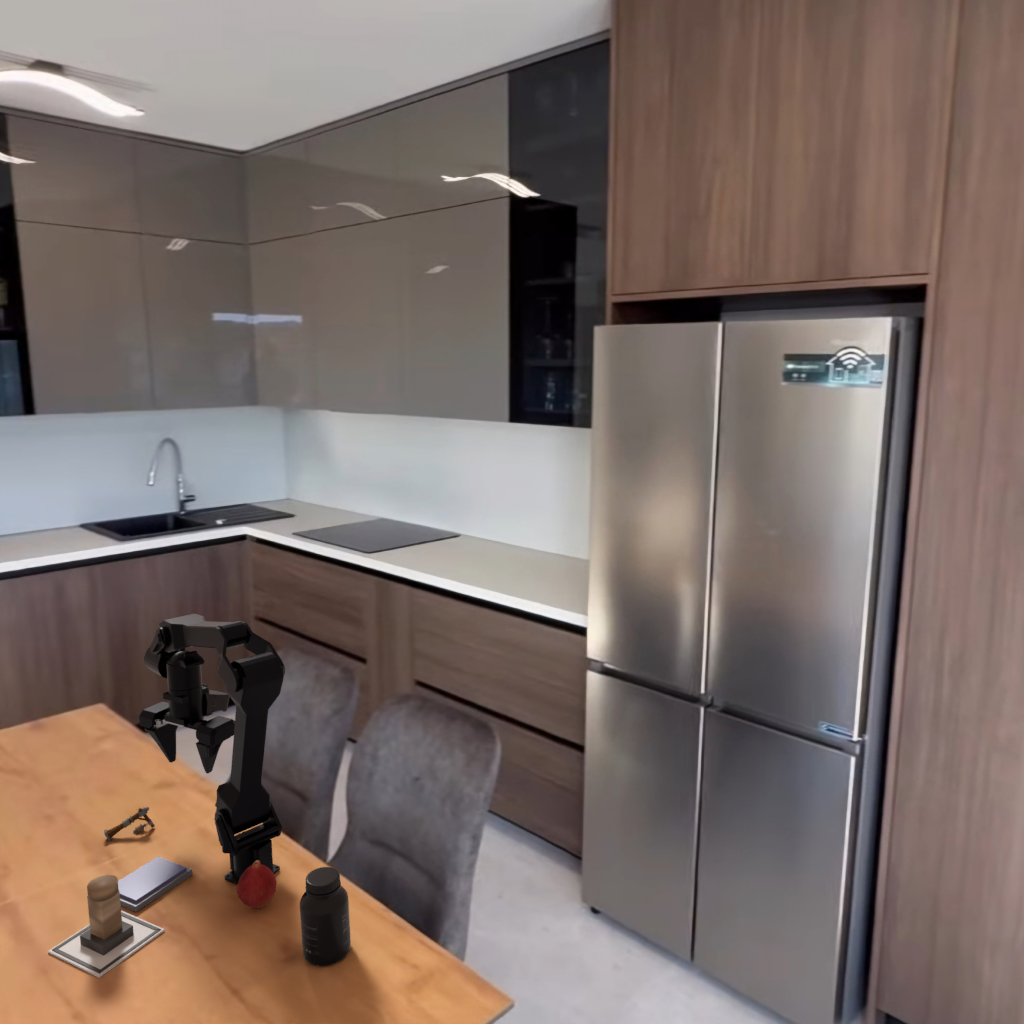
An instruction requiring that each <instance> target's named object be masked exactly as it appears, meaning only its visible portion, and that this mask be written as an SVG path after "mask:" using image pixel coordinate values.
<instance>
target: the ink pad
mask: <svg viewBox="0 0 1024 1024" xmlns="http://www.w3.org/2000/svg"><path fill="white" fill-rule="evenodd" d="M191 876H193V869H192V868H190V867H187V866H185V865H182V864H180V863H176V862H174V861H172V860H169V859H165V858H163V857H161V856H156V857H155V858H153V859H152V860H150V861H148V862H147V863H144V865H141V866H140V867H139V868H137V869H135V870H134V871H132V872H131V873H129V874H127V875H125V876H123V877H122V878H121V879H118V889H119V892H120V904H121V907H122V906H123V908H125V909H127V908H128V909H127V910H129V909H130V910H129V911H132V912H134V911H135V913H137V912H139V911H140V910H142V909H143V908H145V907H147V906H148V905H150V904H151V903H152V902H154V901H156V900H157V899H159V898H160V897H161V896H163V895H165V894H166V893H167V892H169V891H170V890H172V889H174V888H175V887H176V886H178V885H179V884H181V883H183V882H184V881H185V880H187V879H188V878H190V877H191ZM159 896H160V897H159ZM153 900H154V901H153ZM150 902H151V903H150ZM147 904H148V905H147ZM144 906H145V907H144ZM141 908H142V909H141Z"/></svg>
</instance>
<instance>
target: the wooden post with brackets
mask: <svg viewBox="0 0 1024 1024" xmlns="http://www.w3.org/2000/svg"><path fill="white" fill-rule="evenodd" d="M149 810H150V807H149V806H146V807H145V806H143V807H140V808H138V809H137V812H136V813H135V814H133V815H130V816H129V817H127V818H125V820H122V821H121V823H119V824H118V825H116V826H114V827H112V828H110V829H107V828H105V829H103V832H104V833H103V834H104V836H105V837H106V838H107V840H108V841H109V842H111V841H112V840H111V839H113V837H114V836H115V835H116V834H118V833H119V832H120V831H121V830H123V829H127V827H129V826H131V825H132V824H134V823H135V821H137V820H140V821H145V822H146V823H143V824H141V823H139V825H138V826H136V827H134V829H133V834H138V832H139V833H140V832H142V831H145V828H147V826H148V825H149V826H150V827H151V829H153V828H155V824H154V822H153V820H152V819H151V818H150V817H149V816H148V815H147V814H148V811H149ZM136 832H137V833H136Z"/></svg>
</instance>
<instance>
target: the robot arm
mask: <svg viewBox="0 0 1024 1024" xmlns="http://www.w3.org/2000/svg"><path fill="white" fill-rule="evenodd" d="M241 646H243V647H244V649H246V650H247V651H249V652H251V653H252V654H254V655H251V656H248V657H245V658H240V659H235V660H233V661H232V662H230V660H229V659H228V656H227V650H230V649H235V648H238V647H241ZM193 647H195V648H196V647H197V648H209V649H216V651H217V653H218V661H217V673H218V675H219V676H220V678H221V680H222V681H223V683H224V684H225V687H226V692H223V691H220V690H219V691H218V690H214V689H213V690H212V689H209V685H208V684H205V683H203V677H202V676H203V674H202V666H203V665H204V664H205V663H206V661H205V659H204V657H203V656H202V655H200V654H199V653H198V651H197V650H186V649H189V648H193ZM143 662H144V665H145V667H146V668H147V669H148V670H150V671H151V672H153V673H155V674H156V675H158V676H160V677H162V678H164V679H167V680H166V681H167V691H166V692H163V693H162V699H163V700H167V701H168V702H165V701H160V702H158V703H156V704H153V705H151V706H148V707H146V708H144V709H142V711H141V712H140V714H139V716H138V717H139V718H138V719H139V726H140V727H142V728H143V727H144V731H145V732H146V733H148V735H150V736H151V738H152V739H153V741H154V742H155V743H156V745H157V746H158V747H159V749H160V750H161V751H162V753H163V755H164V756H165V758H166V759H167V761H168V762H169V763H174V762H175V761H176V760H177V730H178V727H180V728H181V727H182V728H187V729H191V730H195V737H196V739H197V741H198V742H196V743H195V746H196V748H197V752H198V755H199V757H200V758H199V759H200V760H201V764H202V767H203V769H204V772H205V773H206V774H210V773H211V772H212V771H213V769H214V766H215V763H216V760H217V756H218V753H219V750H220V748H221V746H222V744H223V743H224V742H225V741H227V740H228V739H230V738H231V737H233V744H232V745H233V746H232V756H231V767H230V780H229V781H227V782H224V783H222V784H219V785H218V786H217V789H216V801H215V804H214V806H215V807H216V810H215V812H214V825H215V828H216V832H217V838H218V843H219V844H220V846H221V849H222V850H221V851H222V853H223V854H229V866H230V870H231V871H229V872H228V873H227V874H225V875H224V880H225V881H228V882H231V883H232V884H233V883H234V884H236V885H238V882H239V879H240V877H241V875H242V874H243V872H244V871H245V870H246V869H247V868H248V867H249V866H251V865H252V864H253V863H254V862H255V861H256V860H259V861H260V863H261V864H262V865H265V866H267V867H268V868H269V869H270V870H271V871H272V872H273V873H274V875H275V874H276V873H278V872H280V870H281V867H280V865H278V864H275V863H274V861H273V858H274V857H273V844H272V839H275V838H276V837H277V838H278V837H280V836H281V834H282V829H283V827H282V824H281V822H280V819H279V817H278V815H277V813H276V811H275V810H276V809H275V808H274V806H273V803H272V801H271V795H270V793H269V792H268V791H267V788H265V786H264V785H263V773H264V772H263V771H264V763H265V762H264V761H265V751H266V750H265V749H266V738H267V730H268V729H267V728H268V719H269V710H270V708H272V707H271V706H272V705H274V703H275V702H276V700H277V698H278V697H279V696H280V694H281V692H282V687H283V683H284V679H285V673H286V671H285V670H286V668H285V665H284V664H285V663H284V662H283V660H282V658H281V657H280V655H279V654H278V652H277V650H276V649H275V648H274V646H273V644H271V642H270V641H268V640H267V639H265V638H263V637H262V636H260V635H258V634H256V633H254V632H253V630H252V629H251V627H250V626H249V624H248V623H247V622H246V621H240V620H238V621H237V620H236V621H206V617H205V616H204V615H200V614H198V613H191V614H185V615H181V616H177V617H176V616H175V617H173V618H168V619H163V620H161V621H159V627H157V628H156V630H155V633H154V637H153V640H152V642H151V643H150V644H149V647H148V648H147V649H146V651H145V654H144V657H143ZM230 699H231V701H232V702H233V703H234V705H235V717H234V719H235V720H234V719H233V718H229V717H227V716H226V717H225V716H221V715H218V716H215V717H213V718H210V719H209V720H206V719H204V717H210V716H212V715H213V713H214V712H213V711H215V712H217V711H218V712H219V711H221V712H227V711H228V707H229V702H230Z"/></svg>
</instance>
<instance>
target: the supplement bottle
mask: <svg viewBox="0 0 1024 1024" xmlns="http://www.w3.org/2000/svg"><path fill="white" fill-rule="evenodd" d="M348 894H349V893H348V892H347V890H346V889H345V888H344V886H342V883H341V873H340V871H339V870H338V869H337V868H334V867H331V866H322V867H321V866H320V867H316V868H315V869H313V870H311V871H310V872H308V873H307V875H306V877H305V892H304V893H303V894H302V896H301V897H300V900H299V913H300V931H301V945H302V946H301V947H302V954H303V958H304V959H305V961H306V962H308V964H310V965H312V966H315V967H329V966H333V965H335V964H337V963H339V962H341V961H342V960H344V959H345V958H346V956H347V955H348V954H349V952H350V950H351V947H352V945H351V943H352V942H351V924H350V922H351V921H350V905H349V904H350V902H349V895H348Z"/></svg>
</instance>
